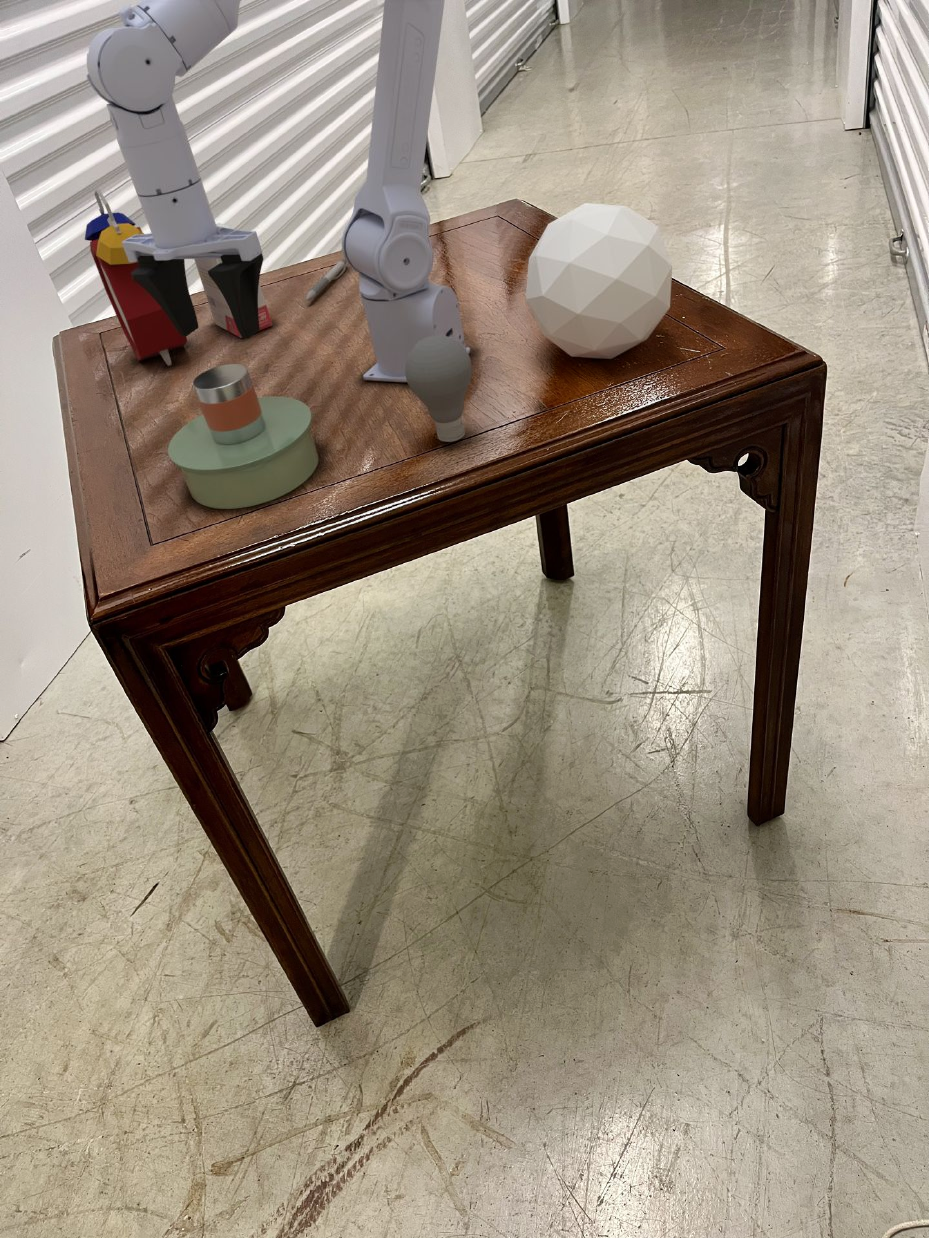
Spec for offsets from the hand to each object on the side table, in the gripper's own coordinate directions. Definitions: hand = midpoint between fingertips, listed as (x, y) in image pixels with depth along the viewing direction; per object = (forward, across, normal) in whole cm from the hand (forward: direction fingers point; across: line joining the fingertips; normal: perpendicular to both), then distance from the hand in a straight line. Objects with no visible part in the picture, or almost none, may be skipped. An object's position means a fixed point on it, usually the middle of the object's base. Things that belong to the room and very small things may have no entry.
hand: (220, 333), depth 91 cm
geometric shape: (+11, +31, +21) cm, 39 cm away
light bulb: (+11, +23, +1) cm, 25 cm away
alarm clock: (+11, -25, +16) cm, 32 cm away
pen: (+11, -14, +37) cm, 41 cm away
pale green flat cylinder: (+10, +6, -8) cm, 14 cm away
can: (+6, +6, -8) cm, 11 cm away
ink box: (+11, -19, +24) cm, 33 cm away
